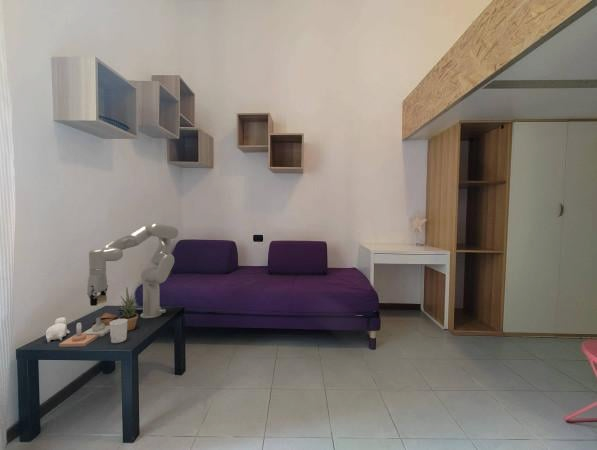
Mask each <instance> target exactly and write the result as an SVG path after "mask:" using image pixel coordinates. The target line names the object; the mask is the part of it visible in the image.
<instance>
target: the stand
mask: <svg viewBox="0 0 597 450" xmlns="http://www.w3.org/2000/svg"><path fill="white" fill-rule="evenodd" d="M100 317H101V316H99V317H96V318H95V321H96V324H95V325H93V324H92V326H91V328H89V329H87V330H85V331H84V332H83V333H86V335H98V337H104V336H105V335H106V334H108V333H110V325H109V326H105V324H104V323H101V318H100Z"/></svg>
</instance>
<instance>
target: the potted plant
mask: <svg viewBox="0 0 597 450" xmlns="http://www.w3.org/2000/svg"><path fill="white" fill-rule="evenodd" d="M125 294H126V300H125V298H123V296H122V295H119V296H120V298H121V300H122V301H121V302H120V303H119V307H120V308H121V310H120V312H122V315H121V316H118V319H127V332H128V331H132V330H134V329H135V328H136V324H137V320H138V319H139V314H138V313H137V306H138V305H139V302H138V303H136V302H137V299H136V294H134V296H133V294H132V293H131V294H129V289H128V286H126V287H125ZM135 304H136V305H135ZM134 305H135V306H134Z"/></svg>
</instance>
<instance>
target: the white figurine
mask: <svg viewBox="0 0 597 450" xmlns="http://www.w3.org/2000/svg"><path fill="white" fill-rule="evenodd" d="M67 323H68V320H67V318H66V317H63V316H62V317H58V318H56V319H55V320H54V324H52V325H51V326H49V327H48V328H47V329H46V331H45V337H46V338H45V339H46V342H47V343H50V342H51V341H52V340H54V341H56V340H59V341H62V340H63V337H66V336H67V335H69V334H70V333H71V331H70V330H69V329H68V327H67Z"/></svg>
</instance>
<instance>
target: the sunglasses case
mask: <svg viewBox="0 0 597 450" xmlns="http://www.w3.org/2000/svg"><path fill="white" fill-rule="evenodd" d="M99 317H100V318H101V323H104V324H105V326H110V324H109V323H110V322H111V321H113V320H116V318H119V316H118V314H117V315H116V314H112V313H108V312H106V311H105V312H104V313H103V314H102V315H101V316H99ZM95 324H96V320H95V321H94V322H93V323H92V326H93V325H95Z"/></svg>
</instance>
